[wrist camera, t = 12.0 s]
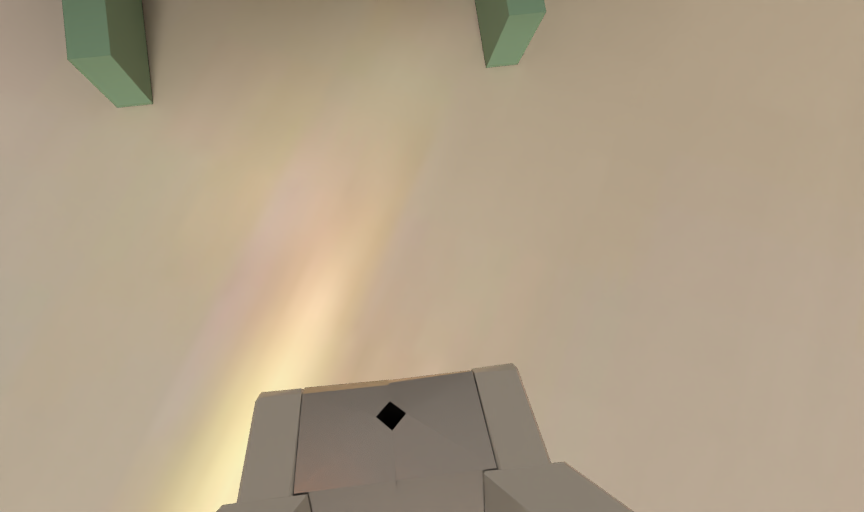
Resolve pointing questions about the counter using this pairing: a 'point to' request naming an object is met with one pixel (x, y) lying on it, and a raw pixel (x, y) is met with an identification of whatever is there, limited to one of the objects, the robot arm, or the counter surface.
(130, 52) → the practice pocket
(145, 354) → the counter surface
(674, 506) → the counter surface
